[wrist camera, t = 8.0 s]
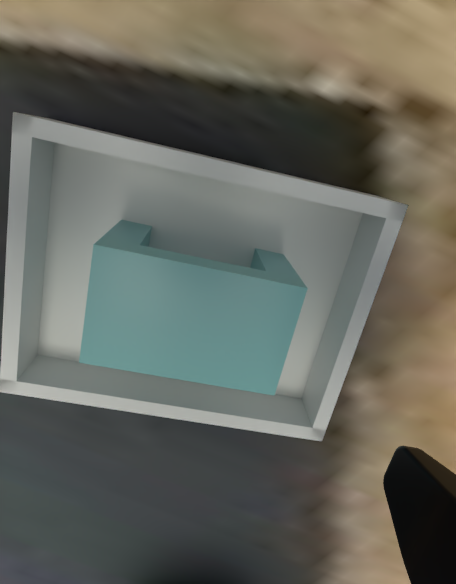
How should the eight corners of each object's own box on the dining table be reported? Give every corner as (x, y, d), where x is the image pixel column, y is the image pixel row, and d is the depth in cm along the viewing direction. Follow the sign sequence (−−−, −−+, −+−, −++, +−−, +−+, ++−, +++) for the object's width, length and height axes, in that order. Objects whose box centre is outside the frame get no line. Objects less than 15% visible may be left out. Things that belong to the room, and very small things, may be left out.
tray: (307, 403, 20) (321, 441, 17) (27, 357, 18) (-1, 392, 16) (377, 195, 17) (408, 205, 14) (45, 117, 15) (13, 111, 13)
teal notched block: (259, 340, 18) (274, 395, 14) (108, 312, 17) (78, 362, 13) (283, 254, 17) (307, 288, 13) (121, 219, 16) (93, 244, 12)
